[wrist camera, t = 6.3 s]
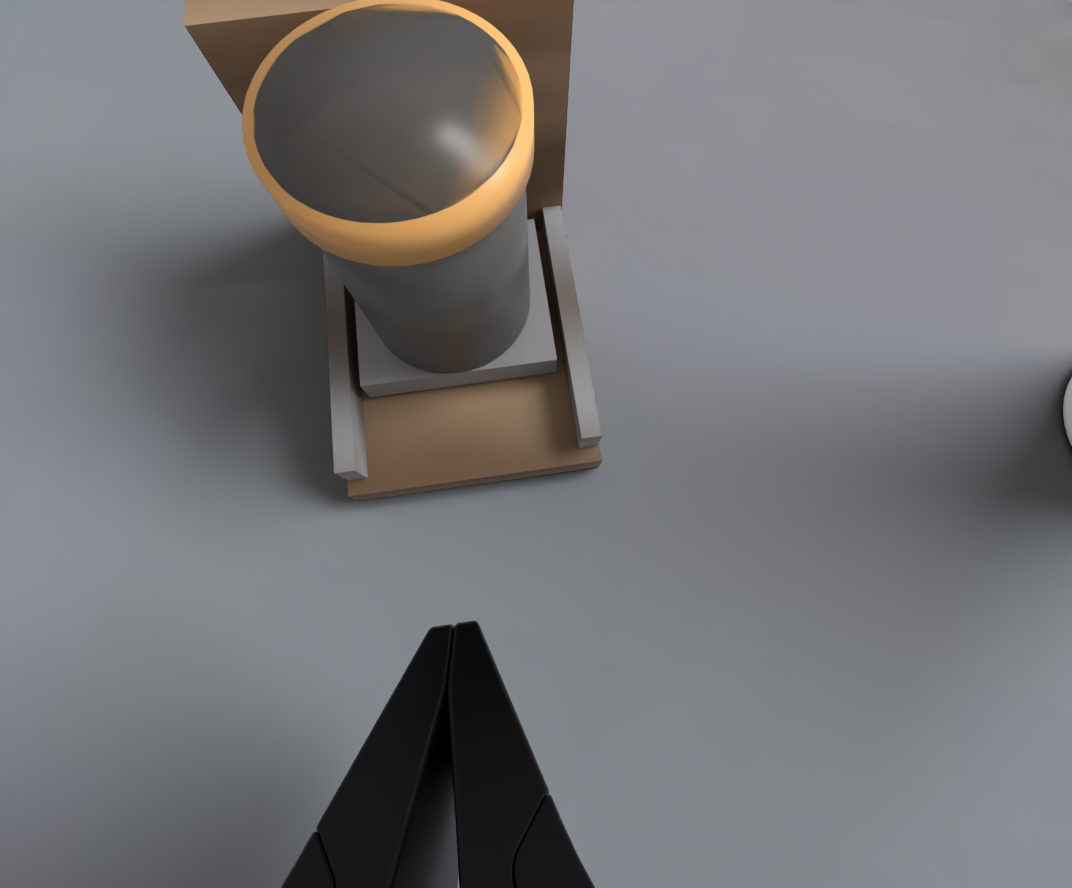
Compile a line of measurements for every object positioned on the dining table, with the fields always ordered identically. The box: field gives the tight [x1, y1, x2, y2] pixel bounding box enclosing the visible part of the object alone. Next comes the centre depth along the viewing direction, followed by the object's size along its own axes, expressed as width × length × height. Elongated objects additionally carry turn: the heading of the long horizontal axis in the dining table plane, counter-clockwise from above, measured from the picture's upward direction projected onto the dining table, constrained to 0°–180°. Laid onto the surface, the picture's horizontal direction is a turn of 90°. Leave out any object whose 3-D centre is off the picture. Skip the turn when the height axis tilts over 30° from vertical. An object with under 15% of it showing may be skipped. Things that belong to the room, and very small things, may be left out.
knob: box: [242, 0, 557, 397], centre depth 14 cm, size 5×6×8 cm
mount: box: [185, 0, 602, 501], centre depth 14 cm, size 12×8×9 cm
